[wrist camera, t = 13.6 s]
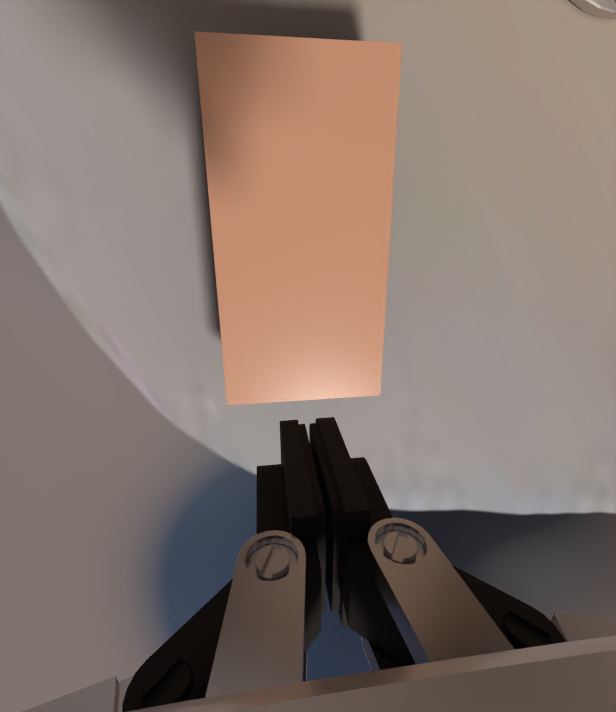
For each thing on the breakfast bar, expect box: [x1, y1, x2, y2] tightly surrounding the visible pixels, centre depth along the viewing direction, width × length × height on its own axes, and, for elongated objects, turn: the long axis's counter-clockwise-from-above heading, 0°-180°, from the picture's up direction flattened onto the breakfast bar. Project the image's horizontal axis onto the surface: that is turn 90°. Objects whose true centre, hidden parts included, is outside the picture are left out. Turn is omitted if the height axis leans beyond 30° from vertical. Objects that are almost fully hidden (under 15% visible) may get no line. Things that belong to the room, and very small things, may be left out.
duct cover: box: [194, 31, 402, 405], centre depth 24 cm, size 22×12×1 cm, turn 0°
